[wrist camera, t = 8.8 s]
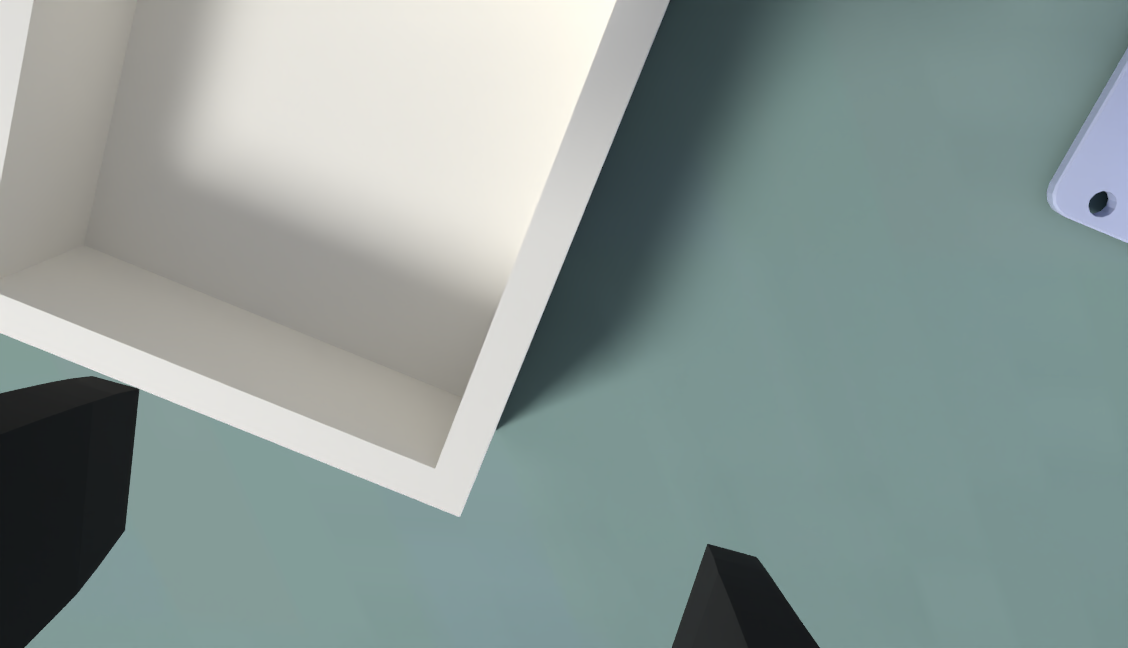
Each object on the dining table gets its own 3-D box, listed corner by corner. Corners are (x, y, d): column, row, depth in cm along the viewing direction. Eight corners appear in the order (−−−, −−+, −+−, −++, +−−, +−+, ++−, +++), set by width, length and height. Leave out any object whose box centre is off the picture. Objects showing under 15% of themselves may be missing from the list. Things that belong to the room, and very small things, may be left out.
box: (682, -29, 19) (684, -37, 15) (494, 431, 23) (459, 517, 19) (165, -245, 19) (38, -307, 15) (60, 256, 22) (-64, 307, 19)
